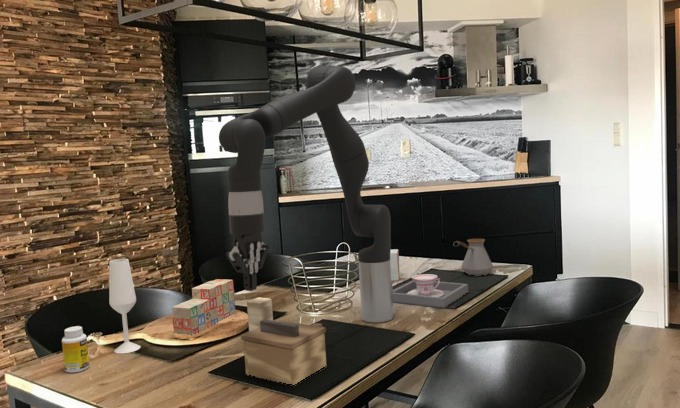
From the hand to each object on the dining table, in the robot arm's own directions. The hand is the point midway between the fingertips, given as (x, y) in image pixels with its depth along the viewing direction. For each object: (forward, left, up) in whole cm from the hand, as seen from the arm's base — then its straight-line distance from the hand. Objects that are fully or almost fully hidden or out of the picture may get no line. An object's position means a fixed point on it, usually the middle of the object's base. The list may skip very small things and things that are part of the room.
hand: (250, 289), depth 128 cm
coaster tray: (-75, +6, -20) cm, 78 cm away
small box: (-94, -18, -20) cm, 98 cm away
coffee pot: (-107, +8, -20) cm, 109 cm away
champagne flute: (+1, -46, -20) cm, 50 cm away
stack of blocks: (-21, -39, -21) cm, 49 cm away
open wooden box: (-6, +3, -20) cm, 21 cm away
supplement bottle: (+16, -45, -20) cm, 51 cm away
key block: (-17, -14, -20) cm, 30 cm away
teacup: (-76, +5, -20) cm, 78 cm away
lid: (-7, +3, -12) cm, 14 cm away
